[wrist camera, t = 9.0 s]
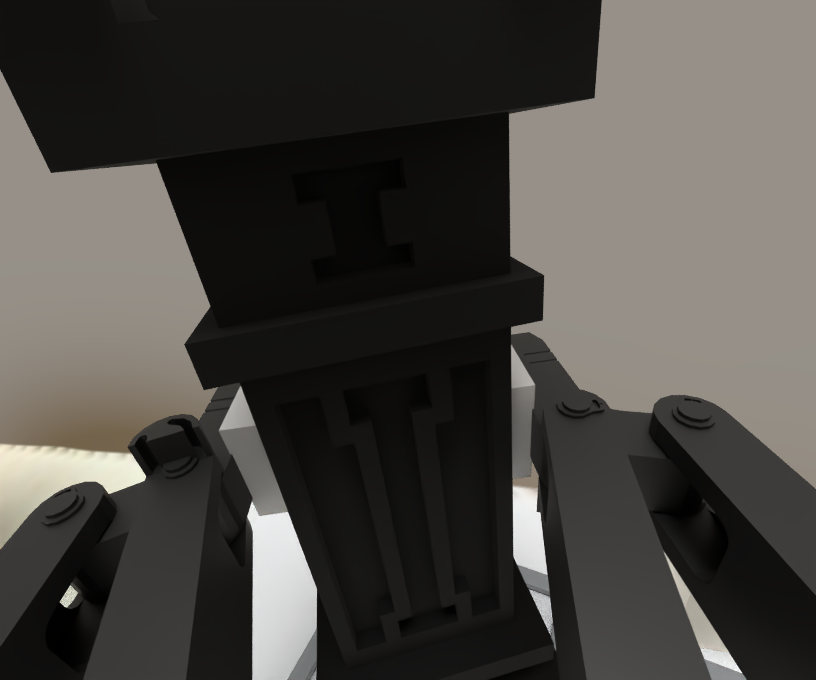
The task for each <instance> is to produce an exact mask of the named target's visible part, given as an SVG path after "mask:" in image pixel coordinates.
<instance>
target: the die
mask: <svg viewBox="0 0 816 680" xmlns="http://www.w3.org/2000/svg"><path fill="white" fill-rule="evenodd" d="M664 554H665V552H664ZM665 556H666V559H667V562H668V564H669V567H670V570H671V572H672V575H673V578H674V580H675V583H676V586H677V588H678V591H679V594H680V596H681V599H682V602H683V604H684V607H685V610H686V612H687V615H688V618H689V620H690V623H691V626H692V628H693V631H694V634H695V636H696V639H697V642H698V644H699V647H701V648H706V649H711V650H716V651H722V652H727V653H729V651H728V650H727V648H726V647H725V645H724V644H723V642H722V641H721V639H720V638H719V636H718V634H717V633H716V631H715V630H714V628H713V627H712V625H711V624H710V622H709V620H708V619H707V617H706V616H705V614H704V613H703V611H702V610H701V608H700V606H699V605H698V603H697V602H696V600H695V599H694V597H693V596H692V594H691V592H690V591H689V589H688V588H687V586H686V585H685V583H684V582H683V580H682V579H681V577H680V575H679V574H678V572H677V571H676V569H675V568H674V566H673V565H672V563H671V561H670V560H669V558H668V557H667V555H666V554H665Z"/></svg>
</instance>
